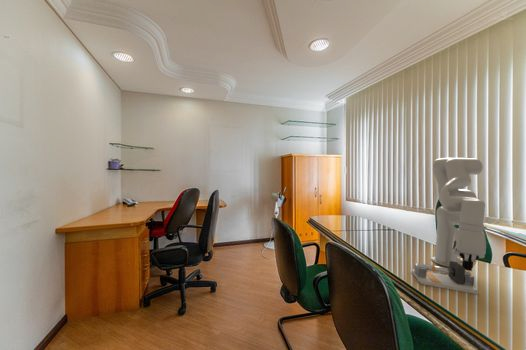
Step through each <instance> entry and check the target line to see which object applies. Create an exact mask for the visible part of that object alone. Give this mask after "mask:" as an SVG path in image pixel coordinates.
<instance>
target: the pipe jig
mask: <svg viewBox="0 0 526 350" xmlns="http://www.w3.org/2000/svg"><path fill="white" fill-rule="evenodd" d="M411 273H412V274H413V276H414V277H415V278H416V279H417V281H418V282H419V283H420V285H425V286H432V287H435V288H441V289H447V290H453V291H458V292H463V293H469V294H475V295H479V289H477V288H476V287H475V286H474V281H475V276H473V275H472V274H471V271H469V270H465V276H464V285H463V284H458V283H456V282H455V281H454V280H453V279H451V278H450V277H449V274H452V275H455V269H451V268H449V267H445V266H437V265H433V264H430V265H429V264H424V263H419V262H417V263H414V268H412V269H411Z"/></svg>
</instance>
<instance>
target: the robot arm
mask: <svg viewBox="0 0 526 350" xmlns="http://www.w3.org/2000/svg"><path fill="white" fill-rule="evenodd" d="M483 168H484V166H483V163H482V161H481V160H480V159H478V158H473V157H472V158H468V157H467V158H466V157H441V158H437V159H435V160H434V161H433V163H432V170H433V171H432V172H433V175H434V178H435V180H436V182H437V192H438V194H437V195H438V200H439V202H440V204H441V206H438V208H437V209H436V211H435V213H436V215H435V216H436V227H437V228H436V240H435V251H434V256H432V257H431V259H430V260H431V261H432V262H433V263H435V264H437V265H440V266H442V267H445V268H449V264H450V261H454V262H457V263H458V264H460V265H461V266H463V267H464V268H465V271H469V272H472V270H473V267H474V262H475V261H476V260H478V259H484V258H485V255H486V254H487V253H486V252H487V251H486V250H487V241H486V240H487V239H486V235H485V232H484V230H485V231H487V229H488V227H487V226H484V222H485V208H486V202H485V201H483V200H481V199H479V198H478V197H477V195H476V193H475V192H474V191H473V190H469V189H464V188H467V187H468V186H470V184H471V183H472V180H471V175H474V176H475V175H480V174H481V173H482V171H483ZM456 226H458V227H456Z"/></svg>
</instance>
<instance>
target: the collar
mask: <svg viewBox="0 0 526 350" xmlns="http://www.w3.org/2000/svg"><path fill="white" fill-rule="evenodd" d="M460 264H461V263H460ZM460 264H458V263H457V262H454V261H450V264H449V267H448V268H451V269H455V275H452V274H448V275H449V277H450V278H451V279H453V280H454V281H455V282H456V283H458V284H463V285H464V276H465V271H466V269H465V268H464V267H463V266H462V264H461V265H460Z"/></svg>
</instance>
